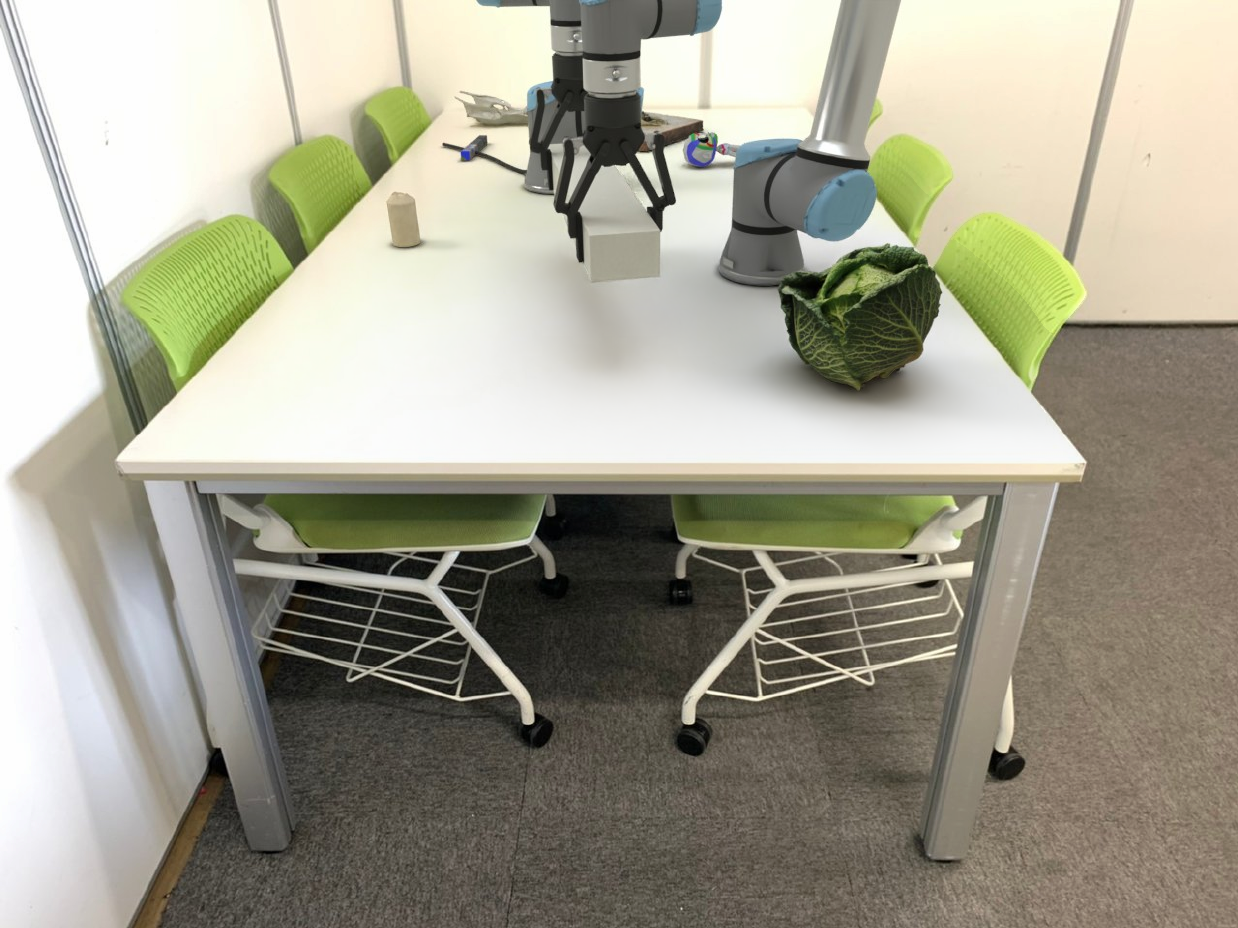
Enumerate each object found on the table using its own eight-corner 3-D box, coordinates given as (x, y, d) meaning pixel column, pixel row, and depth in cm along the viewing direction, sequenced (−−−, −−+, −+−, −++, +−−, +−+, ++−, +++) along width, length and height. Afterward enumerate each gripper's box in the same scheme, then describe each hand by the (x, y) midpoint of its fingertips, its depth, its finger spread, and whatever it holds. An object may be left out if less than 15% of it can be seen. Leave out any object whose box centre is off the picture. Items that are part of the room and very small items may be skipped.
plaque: (647, 125, 237) (559, 112, 252) (647, 153, 241) (560, 139, 256) (706, 107, 258) (622, 97, 273) (705, 133, 262) (622, 121, 277)
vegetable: (807, 399, 136) (749, 288, 129) (909, 328, 138) (857, 214, 130) (877, 433, 118) (813, 305, 110) (993, 351, 119) (938, 219, 112)
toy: (807, 147, 224) (690, 133, 219) (799, 181, 228) (684, 168, 224) (796, 138, 233) (684, 124, 228) (789, 171, 237) (678, 158, 232)
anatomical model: (463, 88, 279) (541, 86, 276) (467, 119, 284) (543, 118, 281) (448, 97, 267) (529, 96, 263) (453, 130, 272) (532, 129, 268)
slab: (548, 180, 169) (546, 144, 165) (599, 177, 170) (598, 141, 167) (590, 282, 123) (589, 235, 119) (660, 277, 124) (660, 230, 121)
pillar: (486, 135, 252) (468, 152, 235) (487, 143, 253) (468, 161, 236) (479, 135, 252) (460, 152, 236) (480, 143, 253) (461, 160, 237)
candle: (425, 240, 182) (419, 190, 176) (411, 248, 177) (404, 198, 172) (401, 237, 183) (394, 188, 178) (387, 246, 179) (379, 195, 174)
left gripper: (509, 58, 146) (519, 196, 158) (643, 53, 149) (643, 188, 161) (505, 51, 152) (516, 184, 164) (635, 46, 155) (635, 177, 167)
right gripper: (529, 102, 113) (541, 271, 125) (702, 93, 116) (697, 259, 128) (525, 91, 119) (536, 253, 131) (688, 83, 122) (685, 242, 134)
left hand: (579, 186), depth 163 cm, fingers closed on slab, 10 cm apart
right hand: (615, 256), depth 130 cm, fingers closed on slab, 10 cm apart
